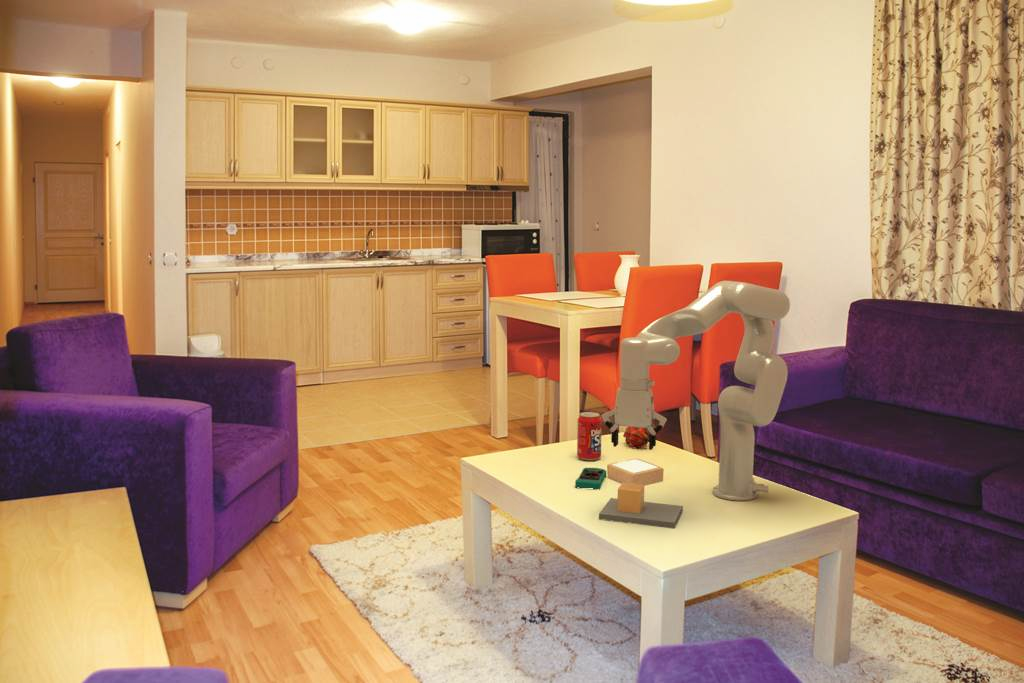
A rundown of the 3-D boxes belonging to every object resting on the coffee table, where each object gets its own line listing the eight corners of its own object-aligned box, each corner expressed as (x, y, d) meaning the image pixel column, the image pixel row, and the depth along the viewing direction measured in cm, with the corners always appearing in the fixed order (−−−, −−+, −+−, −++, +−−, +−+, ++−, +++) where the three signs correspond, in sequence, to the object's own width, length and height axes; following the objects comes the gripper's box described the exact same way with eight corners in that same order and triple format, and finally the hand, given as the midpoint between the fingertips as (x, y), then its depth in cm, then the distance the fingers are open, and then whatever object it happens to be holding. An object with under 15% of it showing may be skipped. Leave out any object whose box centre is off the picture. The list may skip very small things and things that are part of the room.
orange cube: (643, 506, 246) (644, 485, 246) (639, 513, 241) (640, 491, 240) (622, 503, 248) (622, 482, 248) (617, 510, 243) (617, 489, 242)
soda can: (575, 455, 302) (575, 411, 300) (598, 455, 303) (599, 411, 300) (579, 462, 294) (580, 417, 292) (603, 461, 295) (604, 416, 293)
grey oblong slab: (682, 511, 247) (682, 505, 247) (674, 528, 234) (674, 522, 234) (610, 503, 254) (610, 497, 253) (598, 519, 241) (598, 513, 240)
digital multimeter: (606, 477, 280) (606, 467, 279) (599, 491, 265) (599, 481, 265) (583, 475, 281) (583, 466, 281) (574, 489, 267) (574, 479, 267)
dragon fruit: (629, 445, 321) (646, 459, 310) (613, 434, 317) (629, 447, 306) (643, 426, 321) (660, 439, 310) (627, 414, 317) (644, 427, 306)
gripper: (669, 383, 241) (668, 446, 243) (605, 379, 246) (604, 440, 249) (664, 389, 234) (663, 453, 236) (599, 385, 239) (598, 447, 242)
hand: (633, 447), depth 243 cm, fingers open, 9 cm apart
